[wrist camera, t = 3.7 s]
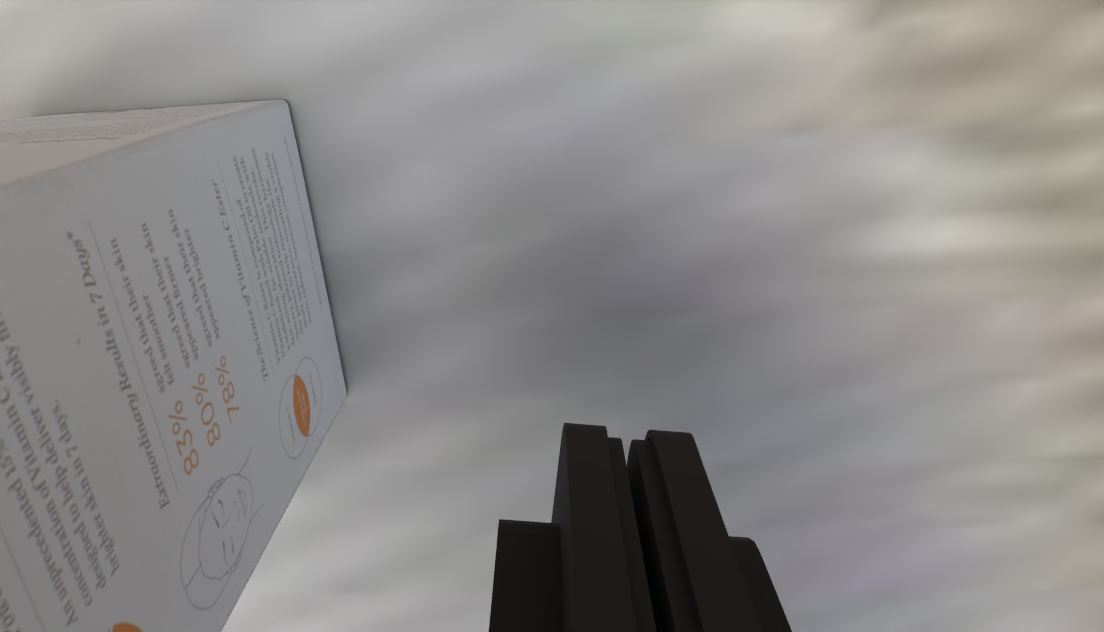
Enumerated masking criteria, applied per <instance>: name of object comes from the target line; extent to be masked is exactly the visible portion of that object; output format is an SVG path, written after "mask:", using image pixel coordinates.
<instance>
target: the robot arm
mask: <svg viewBox="0 0 1104 632" xmlns="http://www.w3.org/2000/svg"><path fill="white" fill-rule="evenodd" d="M489 632H792V631H791V628H790V626H789V623H788V621H787V618H786V616H785V613H784V611H783V608H782V606H781V603H780V601H779V598H778V596H777V593H776V591H775V588H774V586H773V584H772V581H771V579H770V576H769V574H768V571H767V569H766V566H765V564H764V561H763V559H762V556H761V554H760V551H759V549H758V547H757V546H756V544H755V542H754V541H753V540H751V539H750V538H745V537H731V536H728V533H727V531H726V528H725V525H724V522H723V519H722V516H721V514H720V511H719V508H718V505H717V502H716V500H715V497H714V494H713V491H712V488H711V486H710V483H709V480H708V477H707V474H706V471H705V469H704V466H703V463H702V460H701V457H700V455H699V452H698V449H697V446H696V443H695V441H694V438H693V436H692V434H691V433H684V432H671V431H659V430H649V431H648V432H647V434H646V437H645V440H635V439H633V440H632V442H631V445H630V449H629V455H628V461H627V467H626V462H625V456H624V451H623V445H622V441H621V439H620V438H610V437H608V436H607V430H606V427H605V426H597V425H584V424H572V423H564V426H563V431H562V438H561V447H560V455H559V463H558V472H557V480H556V488H555V497H554V505H553V514H552V522H551V523H542V522H529V521H515V520H501V519H499V527H498V538H497V549H496V560H495V571H494V582H493V593H492V604H491V615H490V626H489Z"/></svg>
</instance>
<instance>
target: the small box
mask: <svg viewBox="0 0 1104 632" xmlns="http://www.w3.org/2000/svg"><path fill="white" fill-rule="evenodd" d="M346 396H347V393H346V387H345V382H344V377H343V372H342V367H341V362H340V356H339V351H338V346H337V341H336V336H335V331H334V326H333V321H332V316H331V311H330V306H329V301H328V296H327V291H326V286H325V281H324V276H323V271H322V266H321V261H320V256H319V251H318V246H317V241H316V236H315V231H314V226H313V221H312V216H311V211H310V206H309V202H308V197H307V192H306V187H305V182H304V177H303V173H302V168H301V163H300V158H299V153H298V149H297V144H296V140H295V135H294V130H293V125H292V120H291V116H290V111H289V107H288V104H287V102H286V101H285V100H282V99H281V100H266V101H251V102H237V103H222V104H208V105H194V106H180V107H165V108H151V109H137V110H122V111H106V112H89V113H73V114H58V115H43V116H30V117H22V118H16V119H12V120H6V121H1V122H0V632H221V631H222V629H223V627H224V625H225V623H226V621H227V620H228V618H229V616H230V614H231V612H232V610H233V608H234V606H235V605H236V603H237V601H238V599H239V597H240V595H241V593H242V591H243V590H244V588H245V586H246V584H247V582H248V580H249V578H250V576H251V574H252V573H253V571H254V569H255V567H256V565H257V563H258V561H259V559H260V558H261V556H262V554H263V552H264V550H265V548H266V546H267V544H268V542H269V541H270V539H271V537H272V535H273V533H274V531H275V529H276V527H277V526H278V524H279V522H280V520H281V518H282V516H283V514H284V512H285V510H286V509H287V507H288V505H289V503H290V501H291V499H292V497H293V495H294V494H295V492H296V490H297V488H298V486H299V484H300V482H301V480H302V479H303V477H304V475H305V473H306V471H307V469H308V467H309V465H310V464H311V462H312V460H313V458H314V456H315V454H316V452H317V450H318V449H319V447H320V445H321V443H322V441H323V439H324V437H325V435H326V434H327V432H328V430H329V428H330V426H331V424H332V422H333V420H334V419H335V417H336V415H337V413H338V411H339V410H340V408H341V406H342V404H343V402H344V400H345V398H346Z"/></svg>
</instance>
